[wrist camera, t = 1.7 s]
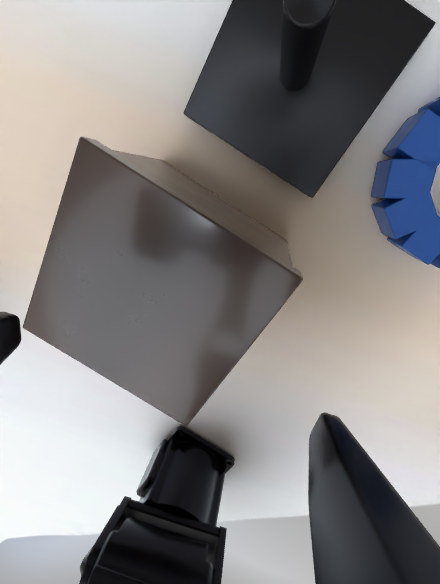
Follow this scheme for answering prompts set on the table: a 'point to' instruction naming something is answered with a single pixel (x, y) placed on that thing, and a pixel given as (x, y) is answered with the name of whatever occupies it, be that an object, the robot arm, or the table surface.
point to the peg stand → (302, 78)
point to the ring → (411, 186)
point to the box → (155, 279)
